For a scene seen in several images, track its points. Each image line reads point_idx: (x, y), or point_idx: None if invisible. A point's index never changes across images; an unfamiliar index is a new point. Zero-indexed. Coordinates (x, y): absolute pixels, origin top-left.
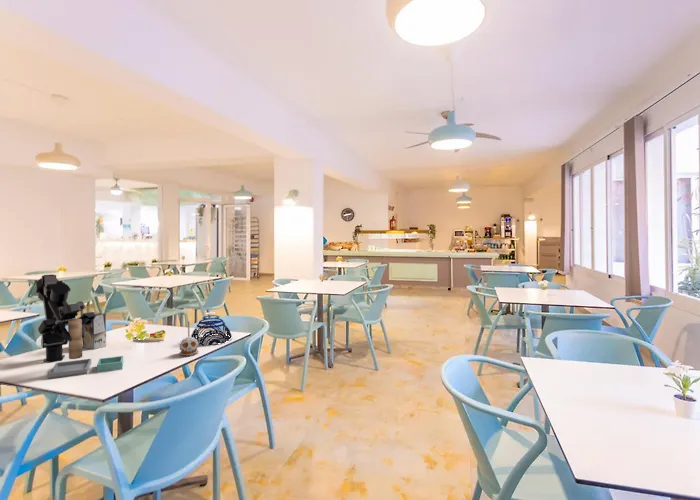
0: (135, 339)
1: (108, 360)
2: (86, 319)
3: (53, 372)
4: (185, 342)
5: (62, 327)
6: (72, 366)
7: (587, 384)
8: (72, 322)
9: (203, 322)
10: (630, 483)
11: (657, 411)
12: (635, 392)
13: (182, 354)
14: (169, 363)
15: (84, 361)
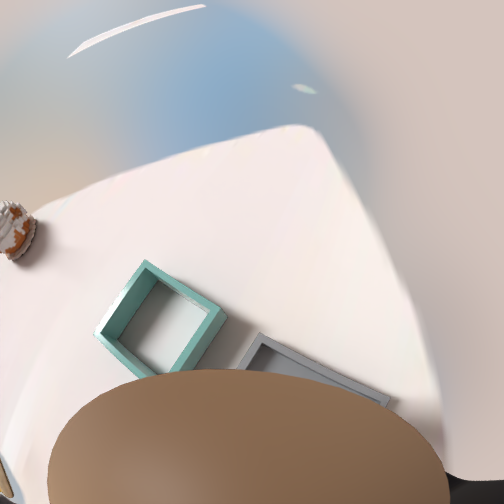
0: (4, 489)
1: (141, 367)
2: (6, 499)
3: None
4: (9, 210)
5: (452, 492)
6: None
7: (108, 34)
8: (389, 413)
9: None
10: (203, 5)
11: (137, 20)
12: (117, 28)
13: (32, 232)
14: (81, 207)
15: None
